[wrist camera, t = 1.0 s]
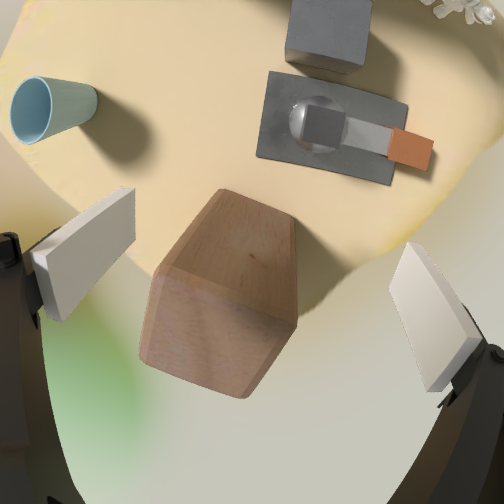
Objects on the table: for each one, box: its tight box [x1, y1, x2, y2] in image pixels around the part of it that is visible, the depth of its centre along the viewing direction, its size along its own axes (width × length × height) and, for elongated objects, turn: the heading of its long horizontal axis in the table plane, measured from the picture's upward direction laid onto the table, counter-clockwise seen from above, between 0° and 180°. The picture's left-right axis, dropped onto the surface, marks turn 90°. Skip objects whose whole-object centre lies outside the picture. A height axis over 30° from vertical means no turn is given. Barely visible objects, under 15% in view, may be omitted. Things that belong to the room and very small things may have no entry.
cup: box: [10, 76, 98, 145], centre depth 27 cm, size 8×8×10 cm
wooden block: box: [139, 189, 298, 399], centre depth 29 cm, size 10×10×20 cm
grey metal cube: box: [285, 0, 373, 74], centre depth 23 cm, size 7×7×8 cm
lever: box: [256, 71, 434, 185], centre depth 27 cm, size 10×19×7 cm, turn 82°
